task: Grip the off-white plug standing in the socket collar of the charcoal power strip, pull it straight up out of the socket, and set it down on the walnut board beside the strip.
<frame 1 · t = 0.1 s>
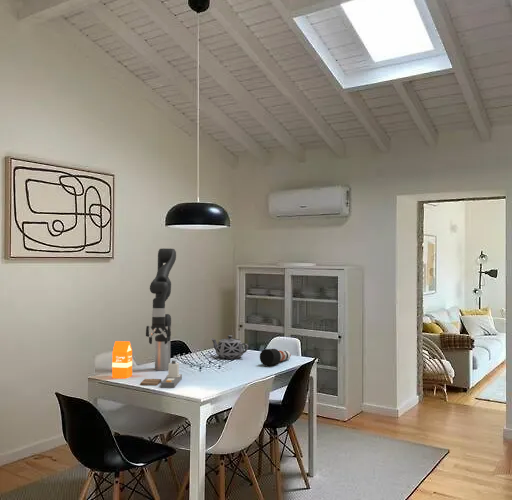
hand: (158, 344, 321), 17 cm above the table, tool pointing down, fingers open, 8 cm apart
plug: (173, 376, 301), point 2 cm above the table, touching power strip
orange juice: (122, 377, 311), on the table
walnut board: (151, 383, 296), on the table
teapot: (228, 357, 376), on the table
dark cylindrical piece: (278, 363, 358), on the table
power strip: (171, 383, 296), on the table
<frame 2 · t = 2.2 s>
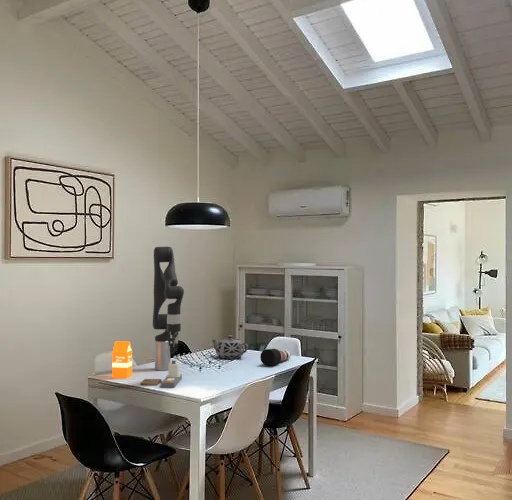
hand: (173, 352, 301), 16 cm above the table, tool pointing down, fingers open, 8 cm apart
nothing on the table moved.
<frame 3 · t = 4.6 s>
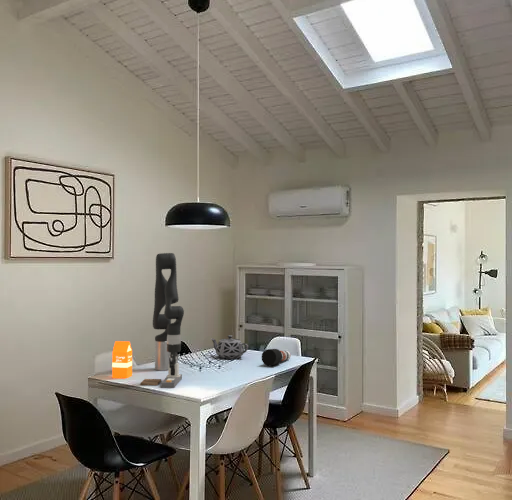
hand: (173, 374, 301), 4 cm above the table, tool pointing down, fingers closed on plug, 4 cm apart
plug: (173, 376, 301), point 3 cm above the table, touching gripper, power strip
everything else where it was.
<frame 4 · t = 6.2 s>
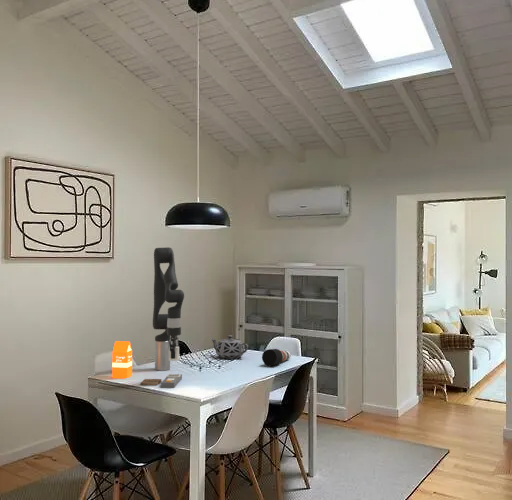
hand: (173, 357, 301), 13 cm above the table, tool pointing down, fingers closed on plug, 4 cm apart
plug: (173, 359, 301), point 11 cm above the table, touching gripper
everything else where it was.
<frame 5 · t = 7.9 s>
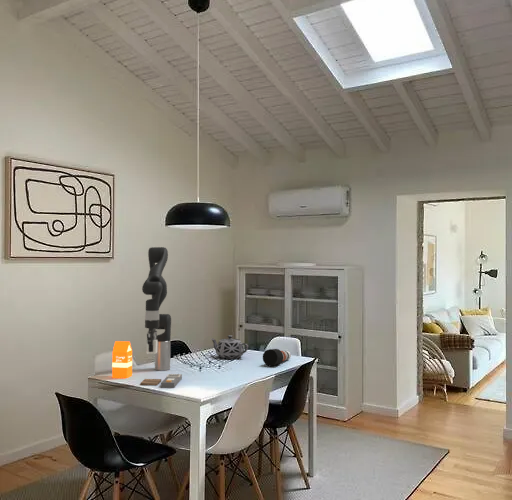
hand: (151, 350, 296), 17 cm above the table, tool pointing down, fingers closed on plug, 4 cm apart
plug: (151, 353, 296), point 16 cm above the table, touching gripper
when the fingers open (4 cm above the table, at t = 10.5 s): plug drops 1 cm, resting on walnut board.
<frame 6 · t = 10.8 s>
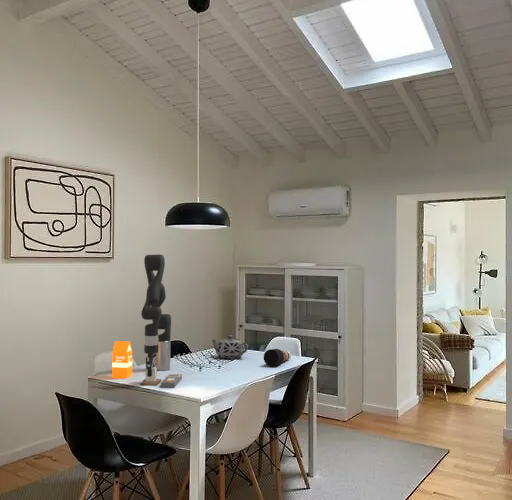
hand: (151, 374, 296), 4 cm above the table, tool pointing down, fingers open, 6 cm apart
plug: (151, 380, 296), point 1 cm above the table, touching walnut board
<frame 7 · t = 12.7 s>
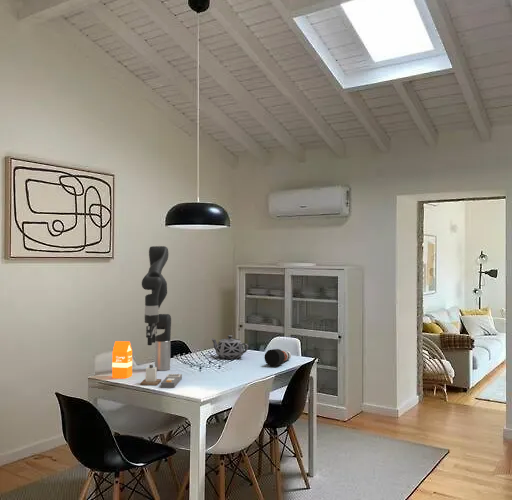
hand: (151, 343, 298), 21 cm above the table, tool pointing down, fingers open, 8 cm apart
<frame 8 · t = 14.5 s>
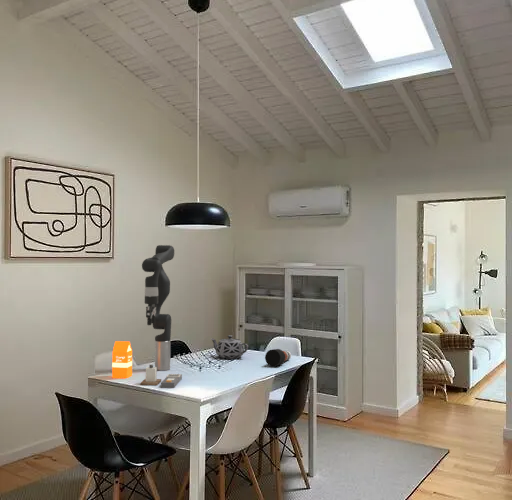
hand: (151, 324, 308), 30 cm above the table, tool pointing down, fingers open, 8 cm apart
at the end: plug inside the target area (0.1 cm from its centre), point 1.2 cm above the table; plug touching walnut board; the gripper is holding nothing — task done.
